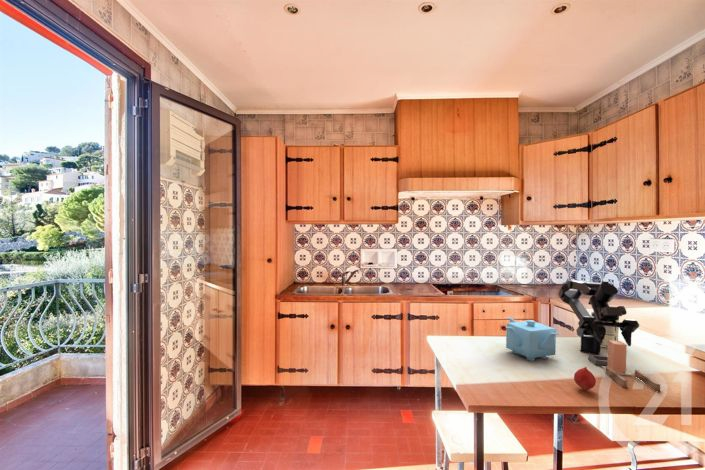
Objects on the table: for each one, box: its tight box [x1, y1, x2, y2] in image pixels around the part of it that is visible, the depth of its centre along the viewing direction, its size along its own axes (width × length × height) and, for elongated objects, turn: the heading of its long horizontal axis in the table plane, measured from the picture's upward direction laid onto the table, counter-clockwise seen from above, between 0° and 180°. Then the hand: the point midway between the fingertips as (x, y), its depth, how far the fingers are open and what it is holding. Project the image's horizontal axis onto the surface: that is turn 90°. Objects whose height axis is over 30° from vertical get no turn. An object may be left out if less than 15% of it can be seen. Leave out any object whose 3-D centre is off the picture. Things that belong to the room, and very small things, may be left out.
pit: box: [587, 354, 608, 367], centre depth 126 cm, size 6×10×2 cm, turn 76°
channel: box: [604, 367, 661, 393], centre depth 110 cm, size 11×10×2 cm
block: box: [607, 340, 628, 373], centre depth 119 cm, size 4×4×10 cm
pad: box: [600, 366, 633, 377], centre depth 119 cm, size 6×7×1 cm
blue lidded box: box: [505, 316, 559, 362], centre depth 133 cm, size 19×19×15 cm
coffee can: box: [590, 311, 620, 349], centre depth 148 cm, size 10×10×14 cm
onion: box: [573, 366, 597, 392], centre depth 104 cm, size 6×6×8 cm
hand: (615, 344), depth 120 cm, fingers open, 9 cm apart
